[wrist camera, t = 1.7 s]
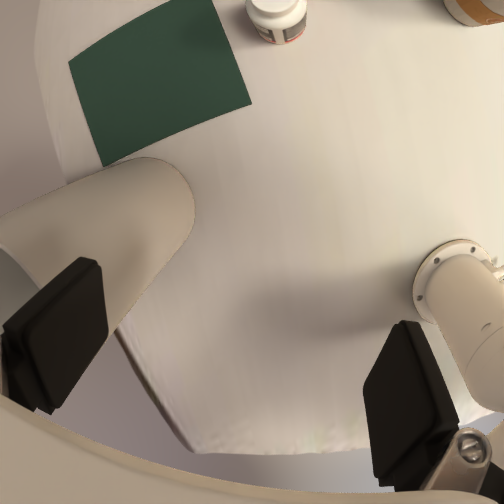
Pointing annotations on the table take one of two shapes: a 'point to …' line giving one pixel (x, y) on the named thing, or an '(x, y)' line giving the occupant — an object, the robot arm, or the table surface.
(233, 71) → the right mat
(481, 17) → the coffee cup
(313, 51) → the table surface
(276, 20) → the pill bottle
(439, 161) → the table surface
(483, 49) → the table surface
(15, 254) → the cylinder vase
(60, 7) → the table surface
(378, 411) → the robot arm
